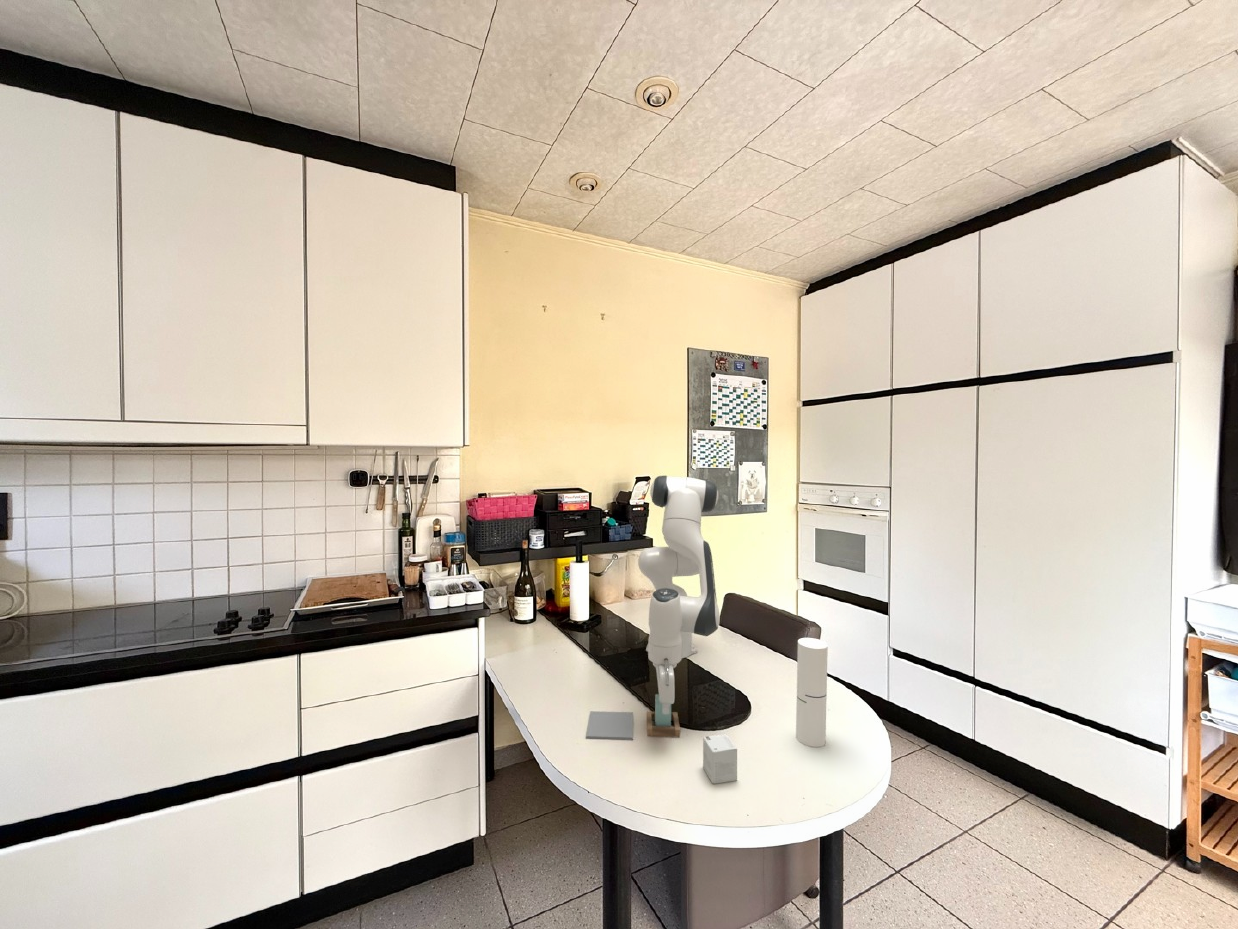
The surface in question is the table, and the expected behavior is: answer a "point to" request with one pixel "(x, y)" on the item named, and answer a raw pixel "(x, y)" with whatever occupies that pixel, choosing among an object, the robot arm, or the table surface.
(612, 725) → the mat
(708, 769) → the skincare box
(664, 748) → the table surface
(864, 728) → the table surface
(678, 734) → the pocket
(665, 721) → the teal block
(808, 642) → the cylindrical container
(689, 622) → the robot arm
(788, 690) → the table surface
